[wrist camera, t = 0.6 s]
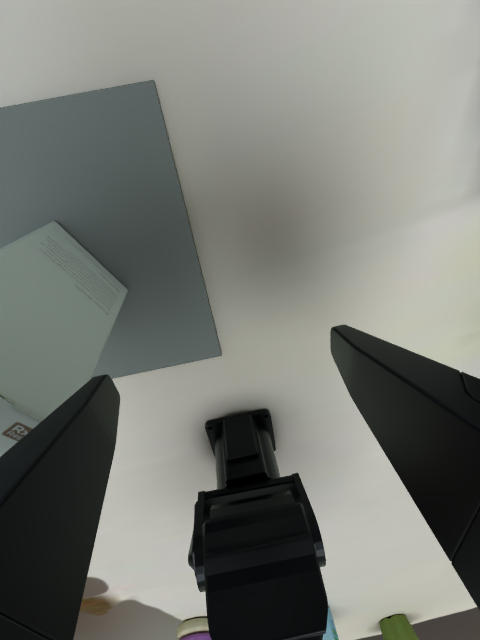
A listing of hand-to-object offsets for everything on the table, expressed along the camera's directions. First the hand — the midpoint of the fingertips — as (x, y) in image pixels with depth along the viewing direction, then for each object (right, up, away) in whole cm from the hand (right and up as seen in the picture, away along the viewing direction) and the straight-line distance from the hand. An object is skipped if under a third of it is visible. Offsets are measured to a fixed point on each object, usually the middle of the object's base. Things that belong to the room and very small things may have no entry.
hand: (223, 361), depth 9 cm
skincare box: (-10, +4, +10) cm, 15 cm away
